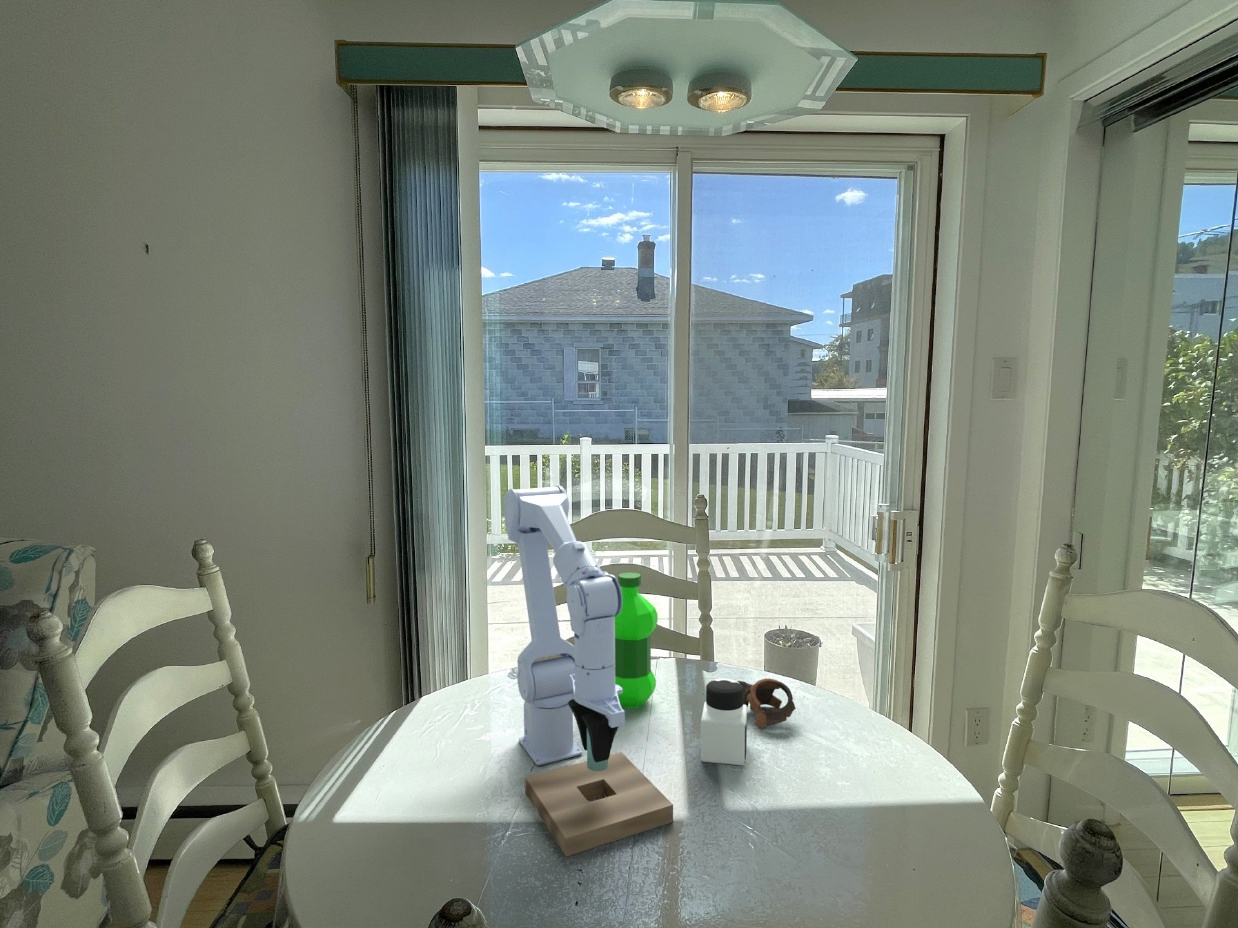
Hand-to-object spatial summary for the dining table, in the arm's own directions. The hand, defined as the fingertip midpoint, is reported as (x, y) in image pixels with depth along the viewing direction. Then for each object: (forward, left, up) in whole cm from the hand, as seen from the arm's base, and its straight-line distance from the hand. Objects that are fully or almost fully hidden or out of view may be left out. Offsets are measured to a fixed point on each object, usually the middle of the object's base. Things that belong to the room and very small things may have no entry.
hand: (596, 753), depth 99 cm
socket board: (0, 0, -8) cm, 8 cm away
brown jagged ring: (-12, +39, -8) cm, 41 cm away
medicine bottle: (-4, +25, -8) cm, 27 cm away
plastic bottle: (-28, +20, -8) cm, 35 cm away
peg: (0, 0, -2) cm, 2 cm away
